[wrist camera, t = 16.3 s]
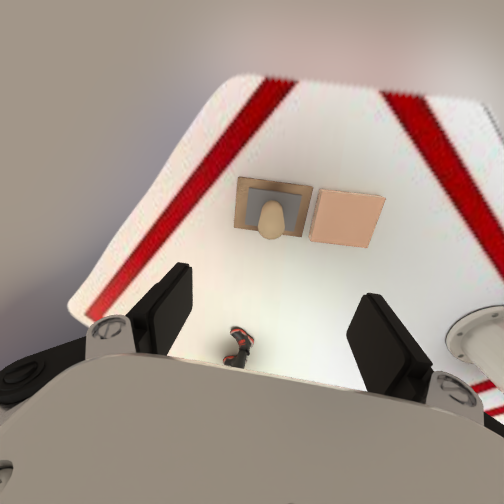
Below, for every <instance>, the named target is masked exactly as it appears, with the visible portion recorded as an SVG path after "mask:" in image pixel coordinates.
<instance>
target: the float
mask: <svg viewBox="0 0 504 504" xmlns="http://www.w3.org/2000/svg"><path fill="white" fill-rule="evenodd" d="M301 198H302V195H300V194H293V193H286V192H279V191H272V190H265V189H258V188H251V187H249V191H248V200H247V209H246V217H245V225H252V226H258V230H259V233H260V234H261V235H262V236H263V237H264V238H266V239H276V238H278V237H280V236H281V235H282V234H283V232H284V230H285V231H292V232H294V229H295V225H296V220H297V216H298V211H299V207H300V203H301Z"/></svg>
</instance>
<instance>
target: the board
mask: <svg viewBox="0 0 504 504" xmlns="http://www.w3.org/2000/svg"><path fill="white" fill-rule="evenodd" d="M249 187H251V188H258V189H265V190H272V191H279V192H286V193H293V194H300V195H302V198H301V203H300V207H299V211H298V216H297V220H296V225H295V229H294V232H292V231H285V230H284V232H283V235H290V236H297V237H302V233H303V229H304V224H305V220H306V216H307V212H308V208H309V203H310V199H311V195H312V191H313V187H312V186H305V185H297V184H290V183H282V182H275V181H267V180H260V179H252V178H245V177H238V182H237V194H236V207H235V219H234V228H241V229H248V230H255V231H259V230H258V226H252V225H245V217H246V209H247V200H248V191H249Z"/></svg>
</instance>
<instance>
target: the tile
mask: <svg viewBox="0 0 504 504" xmlns="http://www.w3.org/2000/svg"><path fill="white" fill-rule="evenodd" d="M385 200H386V198H384V197H382V196H378V195H369V194H360V193H351V192H342V191H333V190H324V189H319V194H318V198H317V202H316V207H315V211H314V215H313V220H312V224H311V228H310V233H309V239H310V241H313V242H322V243H330V244H338V245H346V246H354V247H362V248H368V245H369V242H370V240H371V237H372V234H373V232H374V229H375V226H376V224H377V221H378V218H379V216H380V213H381V210H382V208H383V205H384V202H385Z"/></svg>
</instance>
